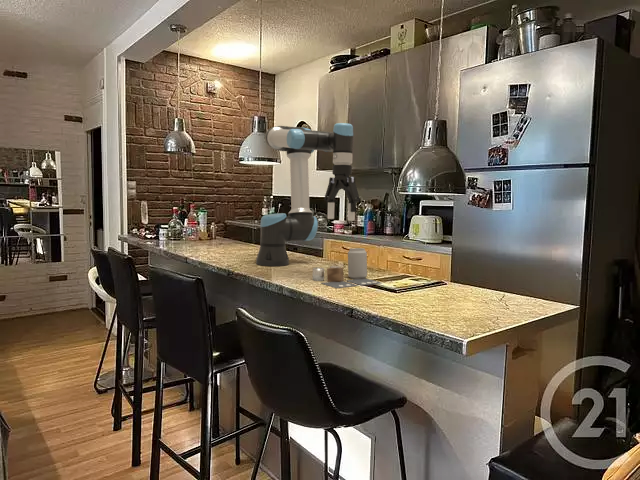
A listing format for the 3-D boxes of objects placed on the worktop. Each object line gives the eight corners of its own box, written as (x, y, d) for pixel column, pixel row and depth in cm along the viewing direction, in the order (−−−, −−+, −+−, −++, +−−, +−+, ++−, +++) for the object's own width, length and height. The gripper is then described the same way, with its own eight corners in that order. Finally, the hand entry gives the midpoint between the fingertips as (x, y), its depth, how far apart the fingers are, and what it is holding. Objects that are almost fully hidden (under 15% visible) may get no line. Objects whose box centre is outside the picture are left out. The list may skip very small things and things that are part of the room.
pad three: (345, 281, 182) (345, 279, 181) (365, 279, 187) (365, 277, 187) (361, 286, 173) (361, 284, 173) (382, 284, 179) (382, 282, 179)
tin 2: (327, 279, 187) (327, 266, 186) (336, 278, 189) (336, 265, 189) (333, 280, 183) (334, 268, 183) (342, 280, 186) (343, 267, 185)
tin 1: (310, 280, 182) (310, 267, 182) (319, 279, 185) (320, 267, 184) (316, 282, 179) (316, 269, 178) (326, 281, 181) (326, 268, 181)
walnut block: (327, 281, 179) (326, 268, 179) (331, 280, 184) (330, 267, 184) (340, 281, 177) (339, 268, 177) (343, 280, 182) (343, 267, 182)
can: (367, 277, 192) (366, 247, 192) (367, 279, 185) (366, 248, 184) (348, 277, 193) (348, 247, 192) (347, 279, 185) (347, 248, 185)
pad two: (320, 284, 175) (320, 282, 175) (342, 282, 181) (342, 280, 181) (336, 289, 167) (336, 287, 167) (358, 287, 173) (358, 284, 172)
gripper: (316, 165, 190) (315, 218, 192) (354, 162, 169) (352, 221, 171) (331, 166, 194) (330, 218, 196) (370, 163, 174) (368, 221, 175)
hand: (340, 219), depth 184 cm, fingers open, 13 cm apart
